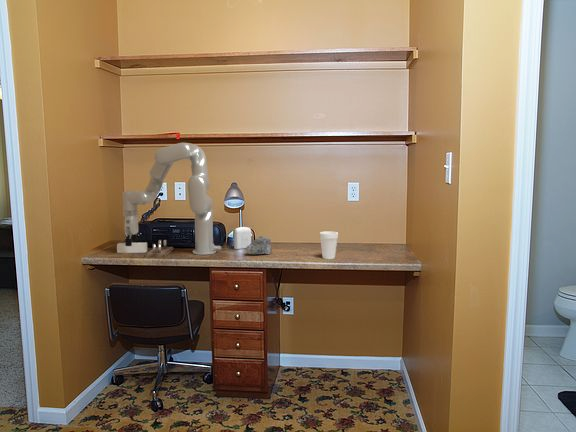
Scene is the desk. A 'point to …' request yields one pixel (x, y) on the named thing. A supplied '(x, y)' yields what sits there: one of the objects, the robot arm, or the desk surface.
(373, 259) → the desk surface
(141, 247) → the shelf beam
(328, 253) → the foam cup
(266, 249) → the mineral rock
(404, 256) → the desk surface
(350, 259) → the desk surface
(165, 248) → the peg stand
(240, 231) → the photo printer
